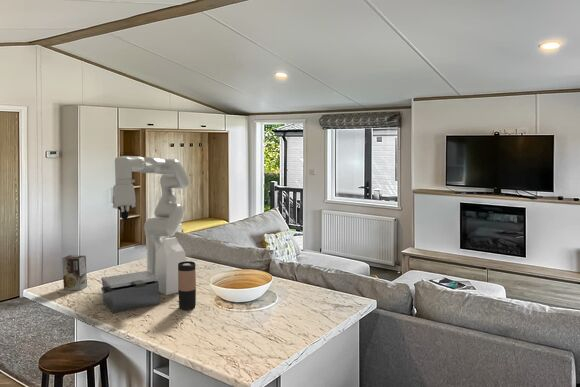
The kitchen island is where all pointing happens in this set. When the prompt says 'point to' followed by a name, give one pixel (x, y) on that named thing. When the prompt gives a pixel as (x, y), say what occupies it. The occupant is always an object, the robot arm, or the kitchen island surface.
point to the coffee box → (74, 272)
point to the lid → (130, 279)
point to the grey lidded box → (130, 296)
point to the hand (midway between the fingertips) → (124, 219)
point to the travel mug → (187, 285)
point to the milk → (169, 265)
